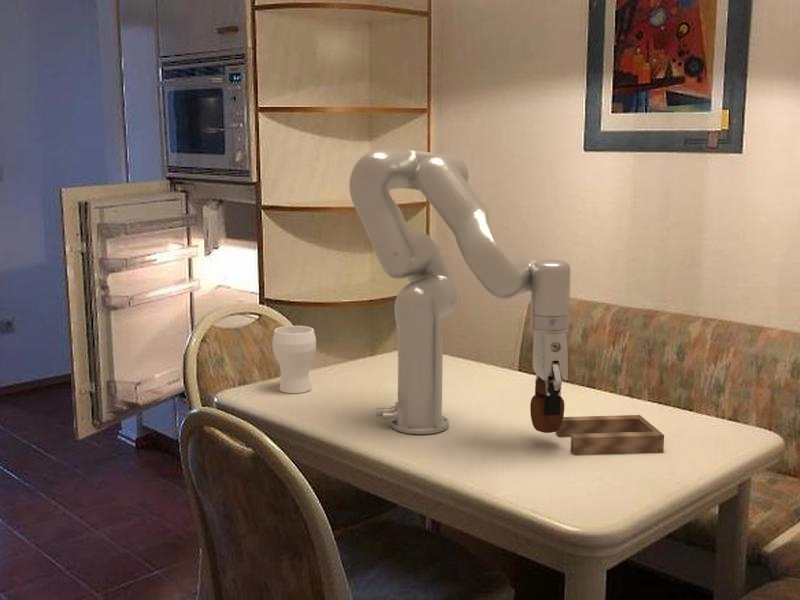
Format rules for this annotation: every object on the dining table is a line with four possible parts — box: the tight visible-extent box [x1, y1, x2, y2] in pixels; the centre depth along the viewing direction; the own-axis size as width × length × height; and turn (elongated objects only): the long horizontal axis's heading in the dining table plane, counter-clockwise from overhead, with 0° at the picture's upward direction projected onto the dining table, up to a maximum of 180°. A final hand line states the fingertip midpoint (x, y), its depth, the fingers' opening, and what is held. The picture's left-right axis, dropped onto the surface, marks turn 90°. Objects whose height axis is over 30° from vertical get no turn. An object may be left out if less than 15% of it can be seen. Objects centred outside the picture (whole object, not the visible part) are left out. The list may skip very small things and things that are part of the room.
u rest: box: [555, 414, 665, 456], centre depth 185 cm, size 18×13×4 cm
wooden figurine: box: [529, 377, 565, 434], centre depth 182 cm, size 7×6×15 cm
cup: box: [272, 325, 317, 394], centre depth 221 cm, size 11×11×15 cm
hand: (547, 408), depth 183 cm, fingers closed on wooden figurine, 6 cm apart
